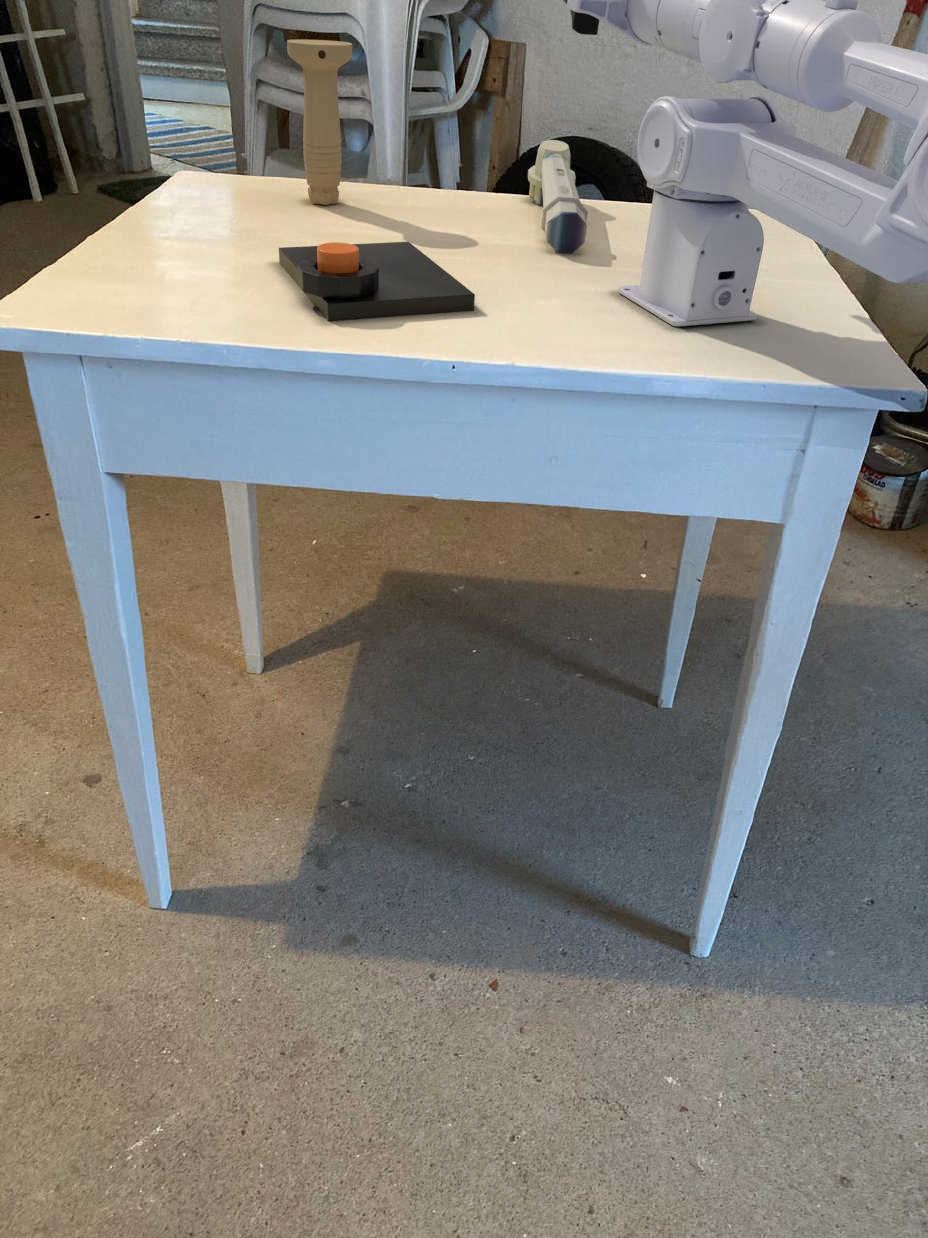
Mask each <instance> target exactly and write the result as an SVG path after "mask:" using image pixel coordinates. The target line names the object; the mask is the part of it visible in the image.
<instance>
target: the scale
mask: <svg viewBox="0 0 928 1238" xmlns="http://www.w3.org/2000/svg"><path fill="white" fill-rule="evenodd" d="M351 244H352V245H355V246H357V247H358V248H359V271H356V272H353V273H328V272H323V271H320V270H318V264H317V247H318V246H319V245H309V246H308V245H307V246H288V247H287V246H284V247H278V261H279V262H278V263H279V265H280V266H281V267H282V268H283V269H284V271H285V272H286V273H287V274H288V275H289V277H290V278H291V279H292V280H293V282H294V283H295V284H296V285H297V286H298V287H299V289H300V290H301V291H302V292H303V294H304V295H305V296H306V297H307V298H308V299H309V301H310V302H311V304H313V305H314V307H315V309H317V310H318V311H319V313H320V314H321V315H322V316H323V317H324V319H325V320H326V321H327V322H340V321H341V322H343V321H355V320H356V321H357V320H368V319H369V320H371V319H382V318H396V317H410V316H423V315H435V314H437V315H438V314H449V313H465V312H474V311H475V301H476V300H475V299H476V294H475V293H474V292H473V291H471V290H470V289H469V288H468V287H466V286H465V285H464V284H463V283H461V282H460V281H459V280H457V279H456V278H455V277H454V276H453V275H451V274H450V273H448V272H447V271H446V270H445V269H444V268H442V267H441V266H440V265H439V264H437V263H436V262H435V261H433V260H432V259H431V258H430V257H429V256H428V255H426V254H425V253H424V252H422V251H421V250H420V249H418V248H417V247H416V246H415V245H413V244H412V243H411V242H409V241H393V242H391V241H390V242H370V243H351Z"/></svg>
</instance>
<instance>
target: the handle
mask: <svg viewBox="0 0 928 1238" xmlns="http://www.w3.org/2000/svg"><path fill="white" fill-rule="evenodd" d="M286 48H287V55H288V56H289V58H291V59H292V61H294V62H296V63H297V64H299V66H301V68H302V72H303V73H302V74H303V126H302V127H303V128H302V130H303V133H302V142H303V144H302V149H303V162H304V163H303V167H304V174H305V180H306V185H308V186H309V187H308V188H307V193H308V199H309V202H310V203H311V204H314V205H322V206H328V205H335V204H338V202H339V198H340V191H339V188H338V187H339V186H340V185H341V184H340V183H341V176H342V163H343V162H342V161H343V159H342V133H341V121H340V105H339V92H338V91H339V88H338V76H339V75H338V74H339V69H340V67H342V66H343V65H344V64H347V63H348V62H349V61H350V60H351V59H352V58H353V43H351V42H348V41H341V40H339V41H338V40H329V39H327V40H326V39H287V40H286Z"/></svg>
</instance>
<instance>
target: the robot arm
mask: <svg viewBox="0 0 928 1238" xmlns="http://www.w3.org/2000/svg"><path fill="white" fill-rule="evenodd" d="M563 2H564V3H565V4H566V9H567V10H569V12H570V15H571V17H570V18H571V29H572V31H574V32H576V33H577V34H579V35H585V36H586V35H588V36H589V35H590V36H597V35H598V32H599V26H600V22H602V23H604V24H605V25H608V26H609V27H611V28H613V29H614V30H616V31H618V32H619V33H621V34H623V35H625V36H627V37H629V38H630V39H632V40H634V41H635V42H637V43H639V44H642V45H644V46H650V47H654V46H655V47H658V48H661V49H663V50H666V51H668V52H671V53H673V54H676V55H679V56H682V57H684V58H686V59H688V60H692V61H694V62H697V63H700V64H701V66H702V67H703V69H704V71H705V73H706V74H707V75H708V76H709V77H710V78H712V79H713V80H714V82H715V83H716V84H727V83H732V82H734V81H754V82H755V83H756V84H757V85H759V86H761V88H763V89H766V90H768V91H772V92H774V93H775V94H778V95H781V96H783V97H786V98H788V99H790V100H793V101H796V102H798V103H800V104H803V105H805V106H808V107H810V108H813V109H814V110H817V111H820V112H823V113H833V112H838V111H841V110H843V109H845V108H847V107H849V106H850V105H852V104H853V103H857V104H859V105H861V106H864V107H866V108H868V109H870V110H872V111H874V112H876V113H878V114H880V115H882V116H884V117H887V118H888V119H891V120H893V121H895V122H897V123H899V124H901V125H902V126H903V125H904V126H905V127H908V128H909V129H911V130H913V131H914V132H913V134H912V135H911V139H910V140H909V143H908V145H907V148H906V150H905V154H904V157H903V165H904V167H905V170H904V172H903V173H902V174H901V176H900V177H899V179H895V178H892V177H890V176H888V175H886V174H883V173H881V172H879V171H877V170H875V169H873V168H870V167H867V166H865V165H862V164H860V163H858V162H856V161H853V160H850V159H848V158H846V157H844V156H842V155H839V154H836V153H834V152H832V151H830V150H829V149H825V148H823V147H820V146H818V145H815V144H813V143H811V142H809V141H807V140H804V139H802V138H799V137H797V136H796V135H797V126H796V125H795V124H794V123H791V122H789V121H787V120H785V119H784V118H783V117H782V115H781V113H780V112H779V111H778V108H777V107H776V105H775V104H774V102H773V101H772V100H771V99H769V98H767V97H765V96H759V95H758V96H751V97H748V98H677V97H675V96H671V95H669V96H668V95H664V96H660V97H657V99H656V100H654V101H653V102H652V103H651V105H650V106H649V107H648V109H647V111H646V112H645V114H644V116H643V118H642V121H641V123H640V126H639V130H638V134H637V142H636V143H637V145H636V151H637V152H636V153H637V160H638V165H639V167H640V170H641V173H642V175H643V178H644V179H645V180H646V187H647V188H648V189H651V190H653V193H652V194H653V195H652V200H651V201H652V202H651V208H650V215H649V221H648V227H647V234H646V240H645V246H644V254H643V261H642V265H641V273H640V280H639V284H635V285H621V286H618V289H617V292H618V293H619V295H622V296H623V297H625V298H626V299H629V300H630V301H632V302H633V303H635V304H637V305H638V306H640V307H642V308H643V309H645V310H646V311H648V312H650V313H651V314H653V315H655V317H658V318H659V319H660V320H663V321H664V322H666V323H668V324H669V325H671V326H673V327H690V326H700V325H701V326H702V325H712V324H724V323H735V322H736V323H737V322H748V321H755V320H757V318H758V317H757V316H758V314H757V313H756V312H754V311H753V310H751V305H752V300H753V296H754V291H755V286H756V282H757V277H758V273H759V268H760V263H761V259H762V255H763V250H764V244H765V236H764V235H765V234H764V229H763V226H762V223H761V222H760V220H759V218H757V216H755V215H754V214H753V213H752V212H750V210H749V208H748V207H751V208H752V209H754V210H756V211H758V212H760V213H762V214H763V215H765V216H767V217H769V218H771V219H772V220H775V221H777V222H778V223H780V224H782V225H783V226H786V227H788V228H790V229H791V230H793V231H795V232H797V233H798V234H801V235H803V237H806V238H808V239H809V240H812V241H813V242H815V243H817V244H819V245H821V246H823V247H824V248H825V249H828V250H830V251H832V252H834V253H836V254H838V255H839V256H841V257H843V258H845V259H847V260H848V261H851V262H852V263H854V264H856V265H858V266H860V267H862V268H863V269H866V270H867V271H869V272H871V273H873V274H875V275H877V276H878V277H880V278H883V279H884V280H886V281H889V282H891V283H895V284H906V283H916V282H928V54H927V53H924V52H920V51H916V50H912V49H908V48H903V47H899V46H895V45H891V44H887V43H883V39H882V32H881V29H880V27H879V25H878V23H877V21H876V20H875V19H874V17H873V16H871V15H870V14H868V13H867V12H864V11H862V10H857V9H858V8H857V7H858V4H859V0H826V1H825V0H563Z"/></svg>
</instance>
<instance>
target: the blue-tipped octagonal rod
mask: <svg viewBox="0 0 928 1238" xmlns="http://www.w3.org/2000/svg"><path fill="white" fill-rule="evenodd" d="M536 154H537V155H536V159H535V165H532V166H531V167H530V168H529V169H527V180H528V182H529V192H528V195H529V196H528V197H529V200H535V204H536V205H539V206H542V213H541V224H540V229H541V230H542V231H543V232H544V233H545V240H546V242H547V243H548V244H549V246H550V247H551V248H552V249H553V250H554V251H555V252H556V253H562V254H563V253H564V254H573V253H574V252H576V251H577V250H578V249H579V248H581V247H582V246H583V245H584V244H585V243H586V237H587V229H588V225H587V222H588V214H589V211H588V209H587V208H586V207H585V206H584V204H583V203H582V202H581V199H580V196H579V193H578V189H577V187H576V178H577V177H576V173H575V171H573V170H572V169H571V151H570V146H569V144H568V143H566V142H565V141H561V140H557V139H548V140H544V141H542V142H541V143H540V145H539V147H538V148H537V153H536Z"/></svg>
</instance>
